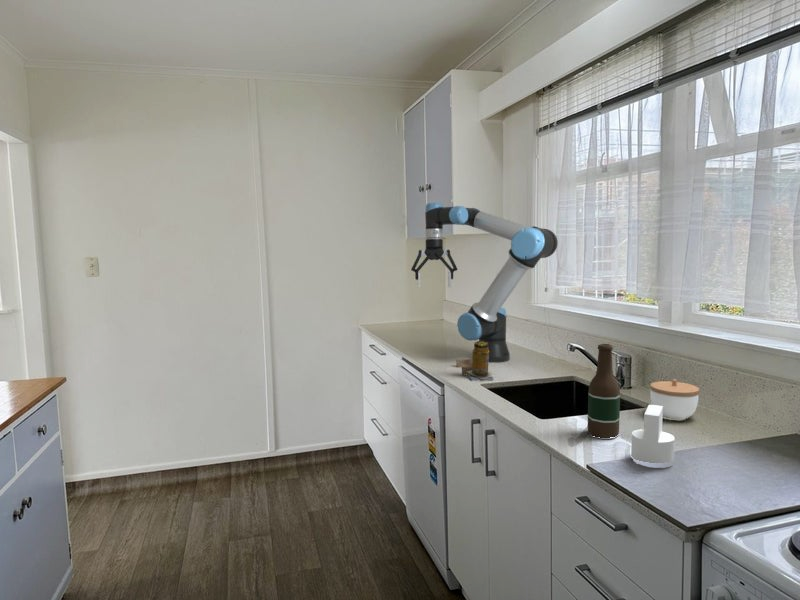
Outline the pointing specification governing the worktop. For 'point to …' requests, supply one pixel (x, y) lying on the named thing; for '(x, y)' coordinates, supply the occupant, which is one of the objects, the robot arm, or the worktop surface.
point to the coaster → (478, 377)
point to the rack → (464, 365)
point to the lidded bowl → (675, 398)
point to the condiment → (481, 360)
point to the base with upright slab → (653, 439)
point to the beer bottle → (604, 397)
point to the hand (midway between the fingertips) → (434, 287)
